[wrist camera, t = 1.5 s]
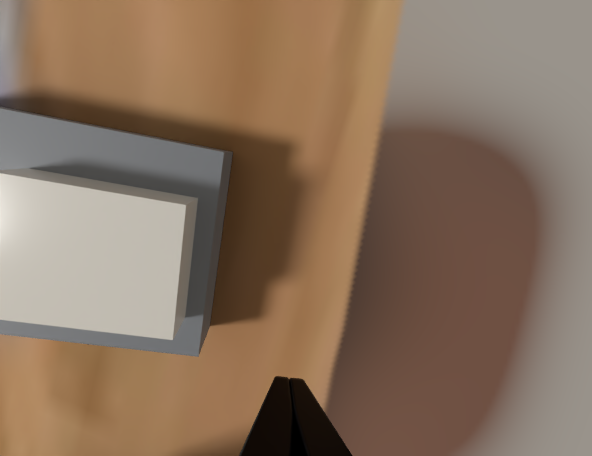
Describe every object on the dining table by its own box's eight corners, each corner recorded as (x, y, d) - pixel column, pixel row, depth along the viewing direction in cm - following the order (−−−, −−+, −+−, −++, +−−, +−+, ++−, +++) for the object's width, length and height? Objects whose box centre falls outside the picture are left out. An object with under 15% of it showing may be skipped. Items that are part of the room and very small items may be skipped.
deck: (209, 326, 20) (198, 356, 17) (-12, 298, 18) (-66, 326, 15) (233, 152, 17) (223, 152, 14) (-28, 100, 15) (-99, 89, 12)
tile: (185, 317, 16) (172, 340, 14) (33, 298, 15) (-2, 319, 13) (198, 197, 14) (185, 204, 13) (28, 168, 14) (-14, 170, 12)
